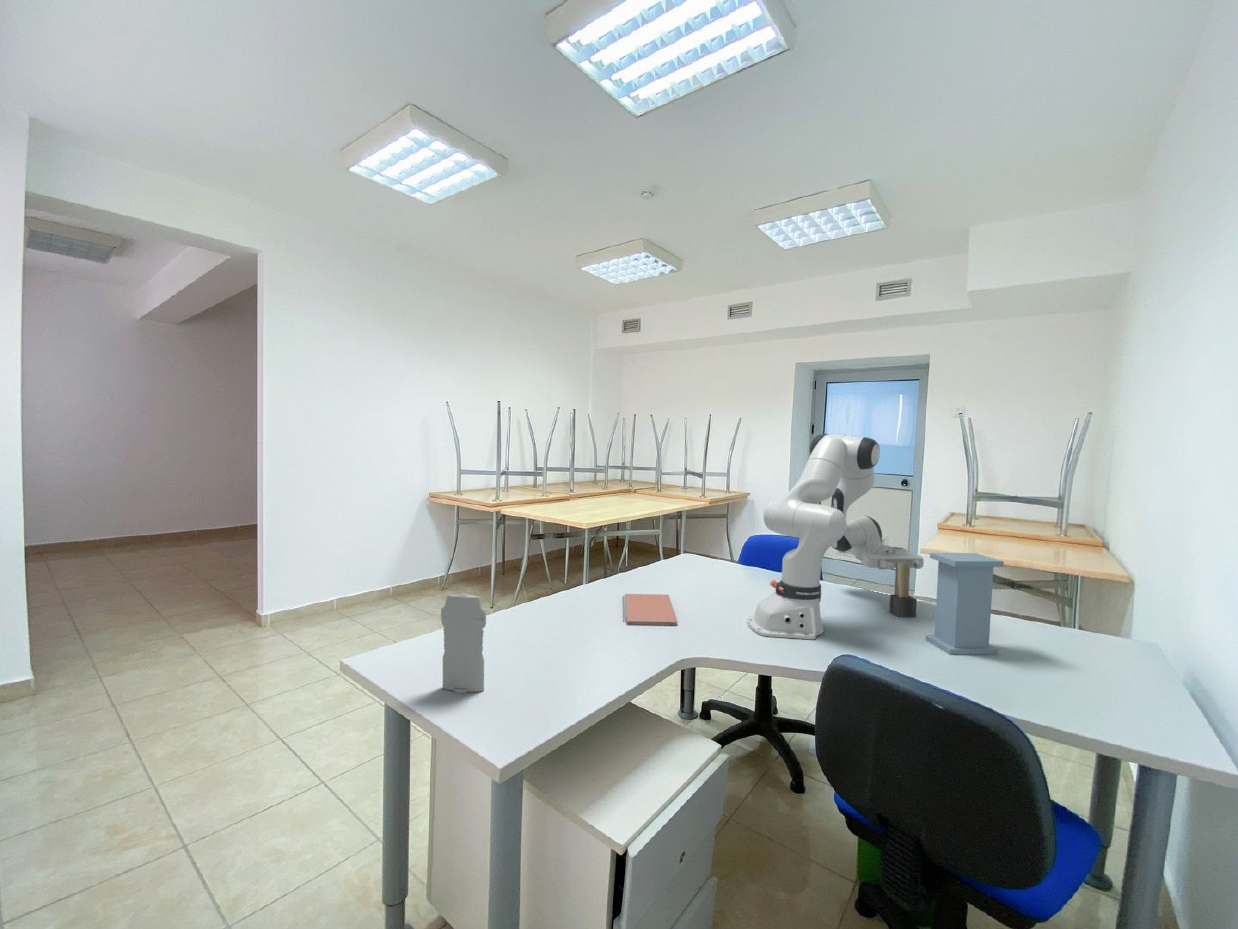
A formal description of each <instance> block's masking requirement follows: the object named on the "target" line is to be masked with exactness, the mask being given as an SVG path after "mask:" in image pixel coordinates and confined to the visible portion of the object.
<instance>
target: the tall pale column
mask: <svg viewBox="0 0 1238 929" xmlns="http://www.w3.org/2000/svg"><path fill="white" fill-rule="evenodd" d="M440 620H441V625H442V626H443V629H442V630H443V650H444V652H443V654H442V655H443V656H442V690H444V689H445V690H446V691H450V690H451V692H455V693H456V694H465V693H481V692H484V691H485V658H484V655H483V651H484V646H483V644H484V633H485V631H484V630H483V629H484V628H485V627H486V624H487V610H485V609H484V608H483V606H482V601H481V597H480V596H478V595H472V594H467V593H457V594H447V596H446V600H445V603H444V606H443V607H442V608H441V609H440Z"/></svg>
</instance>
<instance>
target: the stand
mask: <svg viewBox="0 0 1238 929" xmlns="http://www.w3.org/2000/svg"><path fill="white" fill-rule="evenodd" d="M929 559H931V560H935V561H938V563H937V564H938V565H937V584H936V602H935V603H936V606H935V619H934V620H935V622H934V634H925V638H924V639H925V641H926V642H927V643H929V642H930V643H929V644H931V645H933V644H934V645H935V646H934V645H933V646H934V647H936V646H937V647H936V648H938V649H939V648H940V650H942V651H943V650H944V651H945V653H946V652H947V653H946V654H948V655H949V654H950V655H951V656H952V655H954V654H963V655H965V654H967V655H968V654H969V655H970V654H971V655H999V648H997V647H995V646H993V645H991V644H990V633H991V632H990V631H991V630H990V629H991V613H992V601H993V600H992V596H993V583H994V568H996V567H997V568H1003V567H1004V564H1005V561H1003V560H1000V559H997V558H994V557H990V556H987V555H983V554H980V553H977V552H930V553H929ZM944 651H943V652H944ZM963 655H962V656H963ZM954 656H955V655H954ZM965 656H966V655H965Z"/></svg>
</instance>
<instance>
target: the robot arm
mask: <svg viewBox="0 0 1238 929" xmlns="http://www.w3.org/2000/svg"><path fill="white" fill-rule="evenodd" d="M880 448H881V447H880V444H879V443H878V442H877V441H876V440H875V439H873V438H871V437H866V436H864V437H861V436H856V435H855V436H854V435H849V434H840V433H839V434H835V433H834V434H829V433H822V434H818V435H816V436H815V437H814V438H812V440H811V442H810V446H809V457H808V459H807V462H806V464H805V466H804V469H803V471H802V472H801V474H800V477H799V478H798V480H797V482H796V483H795V484H794V486H793V487H792V488H791V489H789V491H788V492H786V493H785V494H784V495H782V496H781V497H779V498H777V499H776V500H773V501H771V502H769V503H768V504H767V505H766V507H765V508H764V512H763V521H764V522H763V523H764V525H765V526H766V528H767V529H768V530H769V531H771V532H774V533H777V534H779V535H780V536H781V535H782V536H788V537H793V538H798V539H799V541H798V545H797V548H792V549H791V550H788V551H787V552H786V553H785V554H784V556H783V557H782V565H781V579H780V580H779V581H778V582H777V581H776V580H775V579H773V580H771V581H770V583H769V585H770V587H772V588H774V589H775V592H774V593H772V594H770V595H769V596H768V597H766V598H764V599H763V600H762V601H760V602H758V603H757V606H756V609H755V613H754V616H749V617H748V618H747V625H748V627H749V628H751V630H752V631H753V632H755V633H756V634H758V635H761V636H764V637H775V638H786V639H787V638H789V639H800V640H801V639H804V640H815V639H816V638H817V636H819V635H822V634H823V633H824V631H825V630H824V626H823V623H822V616H821V605H820V604H821V599H822V585H821V571H822V564H823V558H824V557H825V554H826V553H827V551H828V549H829V548H830V547H832V549H834V550H836V551H838V552H842V553H845V552H848V551H850V552H851V554H852V555H853V556H854V557H855V558H856V559H857V560H859V561H860V563H861V564H862V565H864V566H865V567H866V568H873V569H875V568H877V569H879V570H882V571H883V570H891V569H893V570H894V569H896V563H906V564H909V565H910V569H913V568H914V569H917V570H919V569H922V568H924V557H923V556H921V555H920V554H916V553H914V552H911V551H908V550H907V549H906V548H903V547H896V546H891V545H887V544H883V543H882V540H883V533H882V529H881V526H880V524H879V522H878V521H877V520H875V519H874V518H872V517H870V516H868V515H866V514H865V515H862V516H859V517H856V518H853V519H852V520H851V519H850V520H847V512H848V509H849V508H850V507H851V505H853V504H854V503H855V502H856V501H857V500H859V499H860V498H861V497H863V496H864V495H866V494H867V493H869V491H870V490H872V488H873V486H874V482H875V469H874V467H875V466H877V464H878V462H879V459H880V455H881V451H880V450H881V449H880ZM830 498H831V502H830V505H829V506H828V505H826V504H820V503H821V502H824V501H826V500H828V499H830Z"/></svg>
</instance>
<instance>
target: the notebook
mask: <svg viewBox="0 0 1238 929" xmlns="http://www.w3.org/2000/svg"><path fill="white" fill-rule="evenodd" d="M621 600H622V602H621V603H622V622H623V623H624V622H626V625H630V626H632V625H633V626H634V625H636V626H640V625H641V626H677V625H678V624H677V623H679V621H678V619H677V616H676V612H675V609H674V607H673V603H672V601H671V597H670V595H669V594H659V593H657V594H654V593H653V594H652V593H649V594H648V593H640V594H639V593H625V594H624V595H622V597H621ZM625 620H626V621H625Z"/></svg>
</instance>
